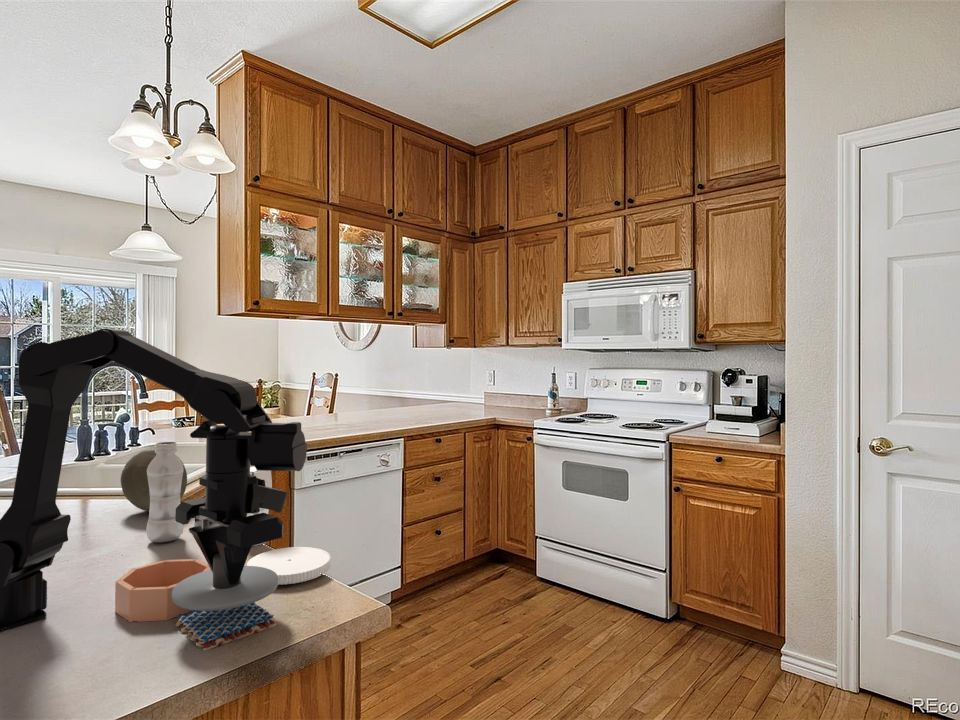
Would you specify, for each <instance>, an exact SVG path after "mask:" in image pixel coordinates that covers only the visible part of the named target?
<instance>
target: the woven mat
mask: <svg viewBox="0 0 960 720" xmlns="http://www.w3.org/2000/svg"><path fill="white" fill-rule="evenodd" d="M177 617H179V619H177V622H176V623H175V626H176V627H177V628H181V630H180V631H181V632H182V633H184V634H186V635H187V639H188V640H190V641H192V642H196V647H198V648H202V651H207V650H210V649H214V648H216V647H218V646H222V645H225V644H228V643H230V642H233V641H235V640H238V639H242V638H245V637H247V636H251V635H252V634H257V633H259V632H261V631H265V630H267V629H270V628H273V627H275V626H277V622H275V619H276V618H275V614H272V613H270V612H269V610H268V611H267V609H266V608H265V609H264V607H261V606H260V605H259V604H257V603H256V602H254V603H251V604H248V605H244V606H240V607H236V608H231V609H225V610H215V611H194V610H191V612H190V613H186V614H183V615H182V614H178V616H177ZM179 626H180V627H179ZM182 626H183V627H182ZM203 647H204V648H203Z"/></svg>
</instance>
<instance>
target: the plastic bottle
mask: <svg viewBox="0 0 960 720" xmlns="http://www.w3.org/2000/svg"><path fill="white" fill-rule="evenodd" d="M154 450H155V453H157V454H156V456H155V457H154V459H153V460H152V461H151V462H150V464H149V465H148V468H147V475H148V476H147V477H148V484H149V492H150V510H149V513H148V519H147V524H146V529H145V530H146V531H145V532H146V537H147V539H148V540H149V541H150V542H151V543H167V542H171V541H175V540H178V539H179V538H181V536H182V535H183V532H184V525H183V524H181V523H178V522H176V521H175V516H176V508H177V507H178V506H179V504H180V503H181V500H180V493H181V483H182V476H183V469H184V467H183V464H184V463H183V461H182V460H181V458H180V457H179V456H177V454H176V452H177V451H178V449H177V441H160V442H155V449H154ZM180 460H181V461H182V462H181V461H180ZM182 463H183V464H182Z"/></svg>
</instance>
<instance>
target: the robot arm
mask: <svg viewBox="0 0 960 720" xmlns="http://www.w3.org/2000/svg"><path fill="white" fill-rule="evenodd" d="M113 362H114V363H116V364H118V365H120V366H122V367H125V368H126V369H128V370H130V371H132V372H134V373H136V374H138V375H140V376H142V377H144V378H146V379H148V380H150V381H152V382H154V383H156V384H158V385H160V386H162V387H164V388H167V390H170V391H172V392H174V393H176V394H177V395H179V396H180V397H181V398H183V399H184V401H185V402H186V404H188V406H189V407H190V408H191V409H192V410H194V411H195V412H196V413H197V414H199V415H201V416H202V417H203V418H205V419H206V420H202V422H201V423H200V425H199V426H198V427H197V428H195V429H194V430H193V431H192V432H191V433H189V437H190V438H192V439H206V444H205V447H206V448H205V449H206V450H205V454H206V455H205V476H202V477H199V479H198V480H199V483H198V484H199V486H202V487H205V489H204V490H205V493H204V494H205V495H204V496H205V497H204V496H203V497H197V498H193V499H188V500H183V501H180V504H179V506H178V507H177V508H176V516H175V521H176V522H178V523H181V524H183V525H188V524H189V522H190V521H191V519H194V522H193V523H194V526H192V527H189V528H188V532H189V533H190V534H191V535H192V537H193V539H194V540H195V542H196V544H197V546H198V548H199V549H200V551H201V553H202V555H203V556H204V559H205V560H206V563H207V564H208V565H209V567H210V569H211V571H212V572H213V556H214V555H215V554H217V553H220V557H221V560H222V563H223V566H224V570H225V573H226V576H227V579H228V581H229V584H230V585H234V584H237V583H238V582H239V579H240V576H241V573H242V571H243V568H244V566H246V563H247V562H246V561H247V559H248V556H249V555H250V551H251V550H252V548H253V547H254V546H253V545H257V544H260V543H264V542H267V543H268V542H272V541H275V540H278V539H281V538H283V537H284V521H282V520H281V518H279V517H278V516H276V515H273V514H269V513H268V514H266V513H260V514H255V515H251V516H247V514H248V513H252V514H253V513H257V512H260V508H263V509H269V510H271V511H274V512H275V513H278V514H282V512H283V510H284V507H285V503H286V501H287V497H288V493H289V492H288V491H285V490H281V489H278V488H274V487H272V488H270V487H265V480H263V479H259V478H257V477H256V476H254V475H250V466H255V468H256V469H257V470H263V471H271V472H273V471H275V472H276V471H277V472H300V471H302V469H303V468H304V465H305V462H306V459H307V452H308V444H307V443H306V437H305V435H304V434H305V433H304V432H303V431H302V423H301V422H298V421H291V422H286V423H285V422H284V423H282V422H273V421H272V419H271V418H270V417H269V415H268V414H267V413H266V411H265V410H264V408H263V407H262V405H261V404H260V403H259V402H258V395H257V393H256V388H255V386H254V385H252V384H251V383H250V382H248V381H247V380H242V379H239V378H235V377H232V376H229V375H225V374H220V373H216V372H212V371H211V372H210V371H207V370H204V369H200V368H198V367H196V366H194V365H193V364H190V363H189V362H186V361H185V360H183V359H180V358H178V357H176V356H174V355H172V354H170V353H168V352H166V351H165V350H162V349H160V348H158V347H156V346H154V345H152V344H150V343H149V342H146V341H144V340H142V339H140V338H139V337H138V338H137V337H136V336H134V335H133V334H132V333H131V332H130V331H128V330H124V329H117V328H100V329H98V330H95V331H93V332H90V333H87V334H84V335H79V336H74V337H69V338H65V339H61V340H56V341H53V342H51V341H50V342H48V341H43V342H42V341H40V342H39V341H37V342H34V343H31V344H29V345H28V346H27V347H26V348H23V349H22V350H21V352H20V354H19V357H18V385H19V388H20V389H21V391H22V394H23V396H24V398H25V400H26V402H27V410H26V415H25V420H24V421H25V422H24V428H23V433H22V440H21V447H20V453H19V456H18V463H17V468H16V469H17V470H16V474H15V475H16V476H15V481H14V488H13V492H12V493H13V494H12V500H11V504H10V506H9V507H8V508H7V510H5V512H4V514H3V515H2V517H1V518H0V632H1V631H3V630H7V629H10V628H14V627H17V626H20V625H23V624H24V625H25V624H27V623H30V622H34V621H38V620H42V619H43V618H46V617H47V612H46V611H45V610H46V609H47V607H48V580H46V579H44V577H43V576H44V575H43V574H44V573H43V571H42V570H43V569H44V568H48V567H50V566H52V565H53V562H54V558H55V556H56V554H58V553H59V552H60V551H61V550H62V548H63V545H64V543H67V542H68V541H69V536H68V530H69V529H68V528H69V526H70V523H71V515H70V514H62V513H61V511H60V509H59V507H58V506H57V503H56V502H57V495H58V488H59V483H60V477H61V472H62V471H61V470H62V465H63V458H64V453H65V448H66V440H67V436H68V431H69V429H68V428H69V423H70V416H71V410H72V407H73V405H74V403H75V402H76V401H77V400H78V398H79V397H80V396H81V395H82V393H83V392H84V391H85V389H86V388H87V386H88V382H89V380H90V377H91V374H92V371H94V370H96V369H101V368H103V367H105V366H108V365H109V364H111V363H113ZM220 424H221V425H220ZM222 424H223V425H222ZM246 516H247V517H246Z"/></svg>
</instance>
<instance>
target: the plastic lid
mask: <svg viewBox="0 0 960 720" xmlns="http://www.w3.org/2000/svg"><path fill="white" fill-rule="evenodd" d="M331 558H332V557H331V554H330V553H329V552H327V551H325V549H321V548H318V547H317V548H316V547H310V546H308V547H307V546H291V547H281V548H275V549H271V550H267V551H264V552H262V553H259V554H257V555H254V556H253V557H251V558H250V559H249V560H248V561H247V562H246V563H245V566H257V567H263V568H267V569H270V570H272V571H274V572H275V573H276V574H277V576H278V586H279V585H281V586H282V585H290V584H299V583H303V582H306V581H310V580H314V579H316V578H319V577H321V576H322V575H324V574H326V573H327V572H328V571H329V570H330V568H331ZM320 573H321V574H322V575H321V574H320Z"/></svg>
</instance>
